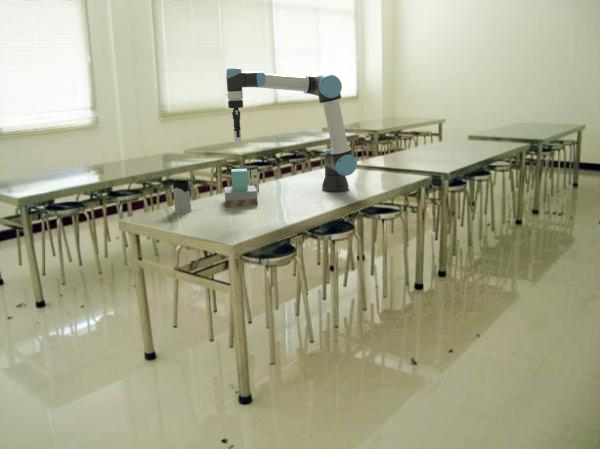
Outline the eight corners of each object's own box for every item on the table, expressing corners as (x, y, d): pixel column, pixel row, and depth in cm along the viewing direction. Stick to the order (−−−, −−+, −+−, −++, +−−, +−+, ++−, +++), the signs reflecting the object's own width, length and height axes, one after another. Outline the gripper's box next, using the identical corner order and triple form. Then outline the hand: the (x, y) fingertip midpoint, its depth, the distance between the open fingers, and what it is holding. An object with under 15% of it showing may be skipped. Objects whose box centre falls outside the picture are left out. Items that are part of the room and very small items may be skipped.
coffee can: (245, 188, 348) (244, 165, 344) (261, 189, 344) (260, 165, 341) (238, 192, 338) (237, 167, 335) (254, 192, 335) (253, 168, 331)
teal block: (247, 187, 312) (246, 168, 309) (247, 190, 304) (246, 171, 302) (232, 187, 311) (231, 169, 309) (232, 190, 303) (231, 171, 301)
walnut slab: (255, 200, 318) (254, 192, 317) (257, 206, 303) (257, 198, 302) (225, 202, 316) (224, 194, 315) (226, 208, 301) (225, 200, 300)
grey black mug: (170, 212, 292) (168, 182, 289) (187, 206, 305) (184, 177, 301) (185, 213, 289) (183, 183, 285) (201, 207, 302) (199, 178, 298)
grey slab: (254, 192, 317) (254, 185, 316) (257, 198, 302) (256, 191, 301) (224, 194, 315) (224, 187, 314) (225, 200, 300) (225, 193, 299)
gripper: (227, 99, 308) (229, 140, 313) (228, 101, 284) (231, 145, 289) (241, 98, 309) (243, 139, 314) (244, 100, 285) (246, 144, 290)
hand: (237, 142), depth 301 cm, fingers open, 13 cm apart
